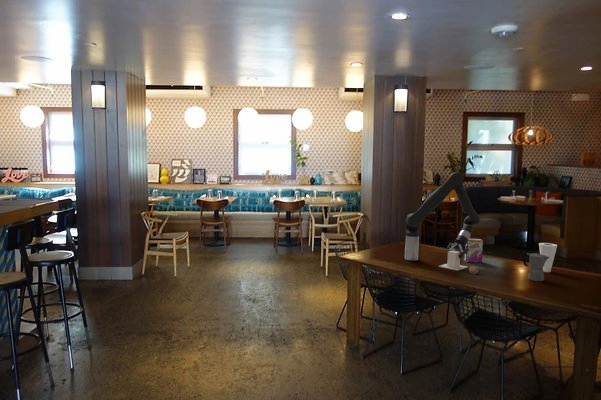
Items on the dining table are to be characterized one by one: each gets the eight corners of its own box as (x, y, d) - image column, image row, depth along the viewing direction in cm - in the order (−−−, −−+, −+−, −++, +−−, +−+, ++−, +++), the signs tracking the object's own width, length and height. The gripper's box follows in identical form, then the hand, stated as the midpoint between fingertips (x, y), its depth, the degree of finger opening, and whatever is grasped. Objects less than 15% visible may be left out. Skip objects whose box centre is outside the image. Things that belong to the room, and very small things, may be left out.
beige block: (455, 267, 302) (455, 253, 301) (447, 266, 306) (447, 251, 305) (459, 266, 305) (460, 251, 304) (451, 264, 310) (452, 250, 309)
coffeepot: (549, 279, 277) (550, 250, 275) (546, 282, 270) (548, 253, 268) (521, 275, 286) (523, 247, 284) (518, 278, 278) (520, 249, 277)
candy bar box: (465, 262, 319) (467, 239, 317) (464, 260, 324) (465, 238, 322) (482, 262, 318) (483, 240, 316) (480, 261, 323) (481, 238, 321)
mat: (457, 270, 296) (457, 270, 296) (438, 266, 306) (438, 265, 306) (468, 267, 305) (468, 266, 305) (449, 263, 315) (449, 262, 315)
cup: (553, 274, 289) (555, 246, 287) (535, 271, 296) (536, 244, 294) (557, 271, 297) (559, 244, 295) (539, 268, 304) (541, 242, 302)
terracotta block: (474, 274, 288) (475, 268, 287) (469, 272, 291) (469, 266, 290) (477, 273, 290) (478, 267, 290) (472, 271, 293) (472, 265, 293)
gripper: (451, 233, 315) (442, 251, 308) (471, 236, 304) (461, 255, 298) (455, 239, 319) (446, 258, 312) (474, 243, 308) (465, 261, 302)
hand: (453, 256), depth 305 cm, fingers open, 8 cm apart
